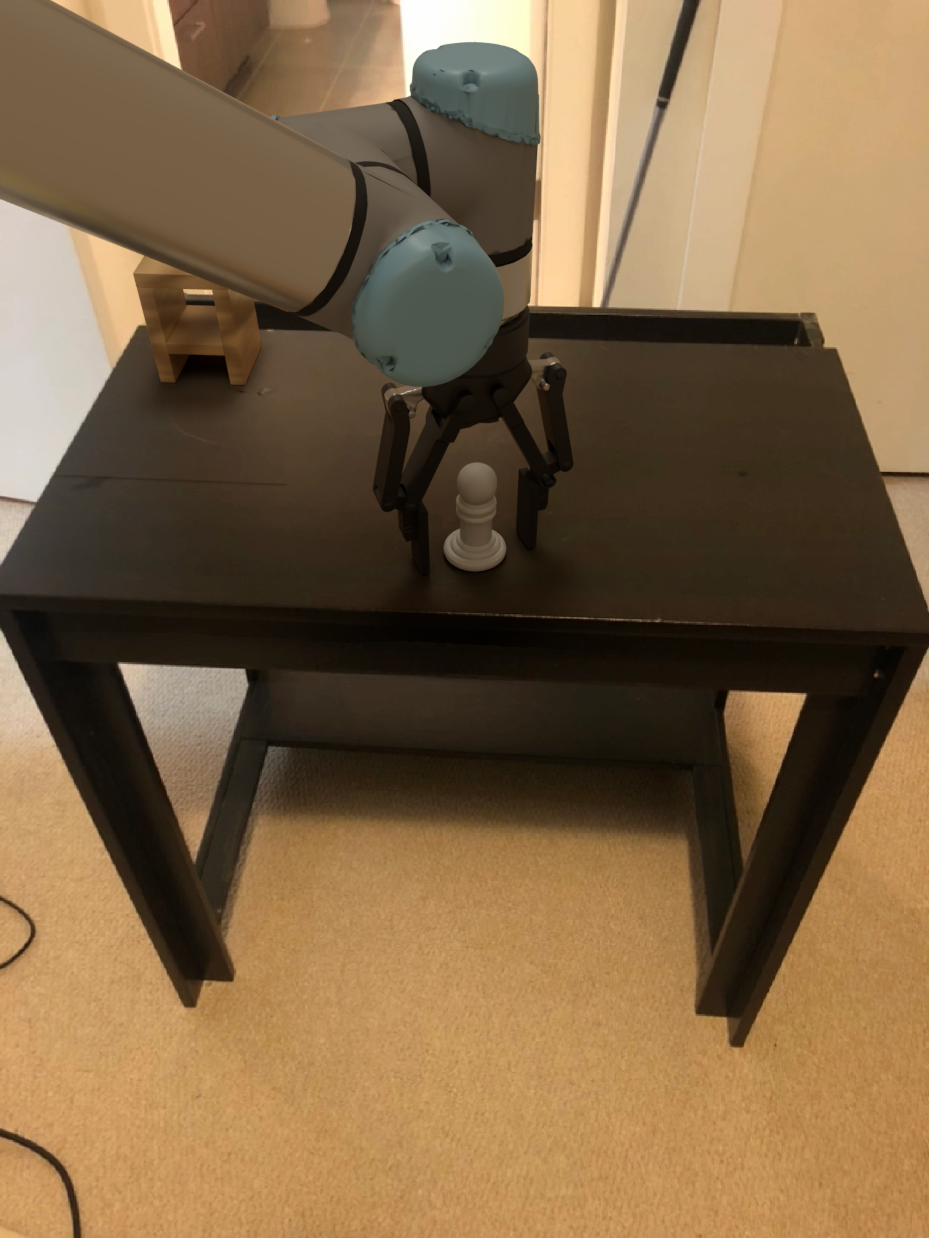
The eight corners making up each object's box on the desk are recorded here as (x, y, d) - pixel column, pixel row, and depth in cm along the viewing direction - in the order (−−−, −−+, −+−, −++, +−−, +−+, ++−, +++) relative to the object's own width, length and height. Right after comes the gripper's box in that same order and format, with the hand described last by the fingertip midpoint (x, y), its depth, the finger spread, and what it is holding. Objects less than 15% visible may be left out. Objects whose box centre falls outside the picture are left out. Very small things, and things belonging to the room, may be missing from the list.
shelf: (160, 382, 103) (132, 273, 94) (181, 343, 108) (156, 236, 100) (245, 385, 102) (225, 276, 94) (261, 346, 108) (243, 239, 99)
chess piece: (506, 533, 85) (509, 448, 79) (505, 575, 82) (509, 488, 75) (445, 531, 86) (443, 446, 79) (441, 573, 82) (439, 487, 76)
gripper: (594, 256, 72) (572, 498, 89) (309, 305, 67) (339, 551, 83) (641, 302, 67) (608, 549, 84) (336, 358, 62) (363, 610, 79)
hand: (474, 550), depth 84 cm, fingers open, 9 cm apart
